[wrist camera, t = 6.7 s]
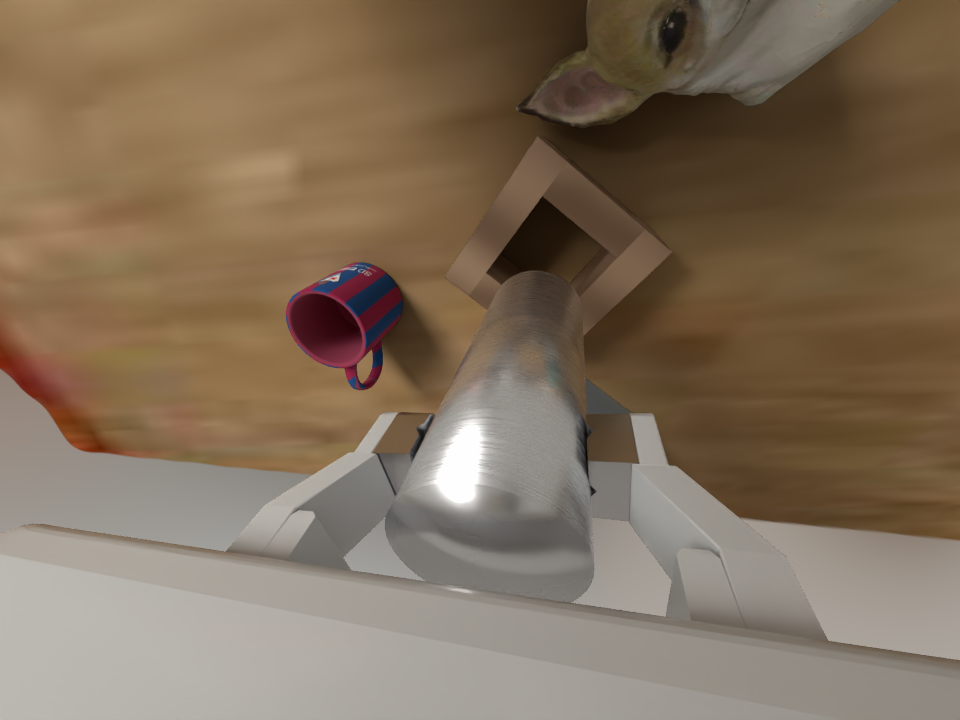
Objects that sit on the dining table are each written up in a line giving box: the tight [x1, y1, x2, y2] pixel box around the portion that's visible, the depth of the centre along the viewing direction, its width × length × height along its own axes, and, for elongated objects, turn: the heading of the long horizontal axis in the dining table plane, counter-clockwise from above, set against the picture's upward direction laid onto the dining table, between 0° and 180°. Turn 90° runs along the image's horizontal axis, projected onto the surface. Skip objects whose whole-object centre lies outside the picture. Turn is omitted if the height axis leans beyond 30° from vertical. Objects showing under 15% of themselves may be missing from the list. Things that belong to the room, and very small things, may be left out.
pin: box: [385, 270, 594, 603], centre depth 11 cm, size 4×4×11 cm
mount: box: [444, 136, 672, 336], centre depth 24 cm, size 10×10×5 cm
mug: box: [286, 263, 403, 390], centre depth 31 cm, size 7×10×7 cm
